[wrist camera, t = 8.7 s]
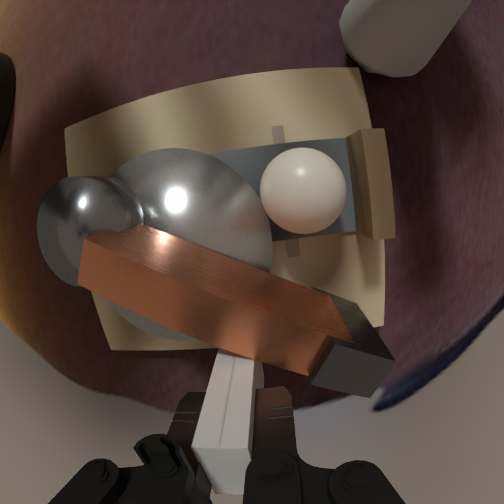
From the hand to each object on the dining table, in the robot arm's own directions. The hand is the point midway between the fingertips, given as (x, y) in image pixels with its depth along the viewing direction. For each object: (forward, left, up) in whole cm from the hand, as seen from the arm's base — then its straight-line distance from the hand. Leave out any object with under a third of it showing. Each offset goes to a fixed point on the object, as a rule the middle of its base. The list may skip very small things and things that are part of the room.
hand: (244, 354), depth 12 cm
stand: (-1, +6, -6) cm, 8 cm away
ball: (+4, +7, -4) cm, 9 cm away
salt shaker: (+10, +16, -6) cm, 20 cm away
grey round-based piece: (-2, +4, -4) cm, 6 cm away
